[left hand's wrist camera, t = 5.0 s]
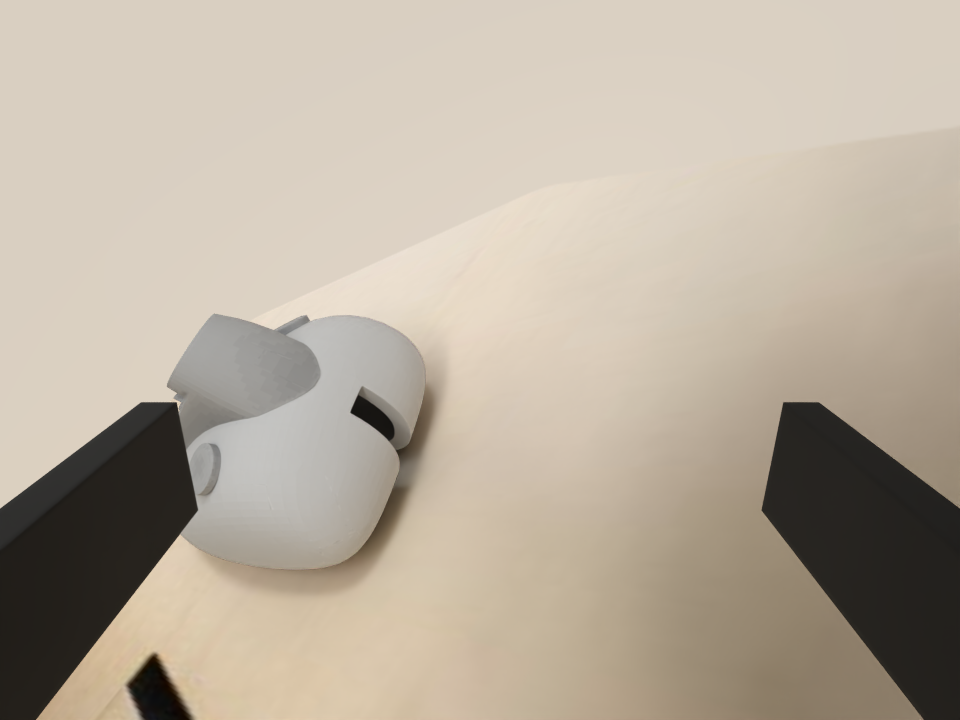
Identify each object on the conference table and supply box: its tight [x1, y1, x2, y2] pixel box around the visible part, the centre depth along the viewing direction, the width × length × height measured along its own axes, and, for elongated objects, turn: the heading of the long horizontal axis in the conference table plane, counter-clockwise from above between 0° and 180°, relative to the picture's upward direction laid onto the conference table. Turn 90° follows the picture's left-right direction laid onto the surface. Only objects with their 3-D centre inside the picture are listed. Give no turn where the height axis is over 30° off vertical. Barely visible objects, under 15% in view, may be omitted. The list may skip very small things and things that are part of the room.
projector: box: [167, 314, 426, 570], centre depth 37 cm, size 22×23×15 cm
